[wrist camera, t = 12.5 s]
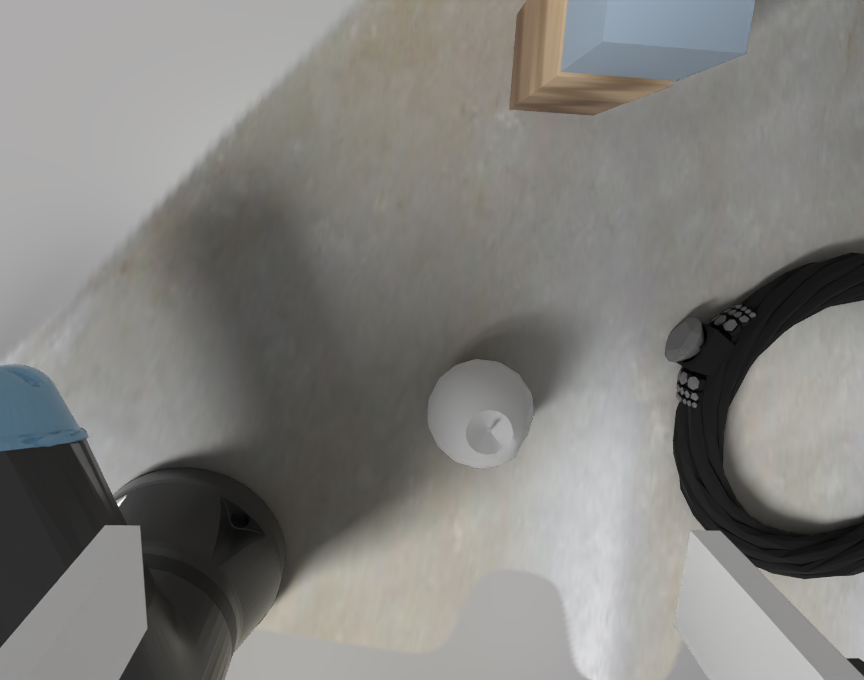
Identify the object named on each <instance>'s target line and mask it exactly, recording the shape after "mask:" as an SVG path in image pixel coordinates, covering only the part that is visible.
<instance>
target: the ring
mask: <svg viewBox="0 0 864 680" xmlns="http://www.w3.org/2000/svg"><path fill="white" fill-rule="evenodd" d="M862 300H864V254H860V253H849V254H846V255H842V256H839V257H835V258H832V259H829V260H825V261H822V262H817V263H810V264H807V265H805V266H802V267H800V268H797V269H795V270H792V271H789V272H787V273H785V274H784V275H782V276H780V277H779V278H777V279H775V280H774V281H772V282H770V283H769V284H767V285H765V286H764V287H762V288H760V289H759V290H758V291H756V292H755V293H754V294H753V295H751V296H750V297H749V298H748V299H746V300H745V301H744V302H743V303H741V304H740V305H734V306H731V307H730V309H726V310H725V311H723V312H721V313H720V314H721V316H720V314H719V315H717V316H716V317H714V318H713V319H712V320H711V322H710V324H712V325H711V326H712V327H714V328H715V329H714V328H712V327H710V326H707V325H705V324H703V323H701V321H700V320H699V319H698V318H697V317H688V318H686V319H685V320H683V321H682V322H680V323H679V324H678V325H677V326H676V327H675V328H674V329H673V330H672V331H671V333H670V335H669V337H668V340H667V343H666V348H665V356H666V358H667V359H668V360H669V361H672V362H677V363H679V364H680V365H682V366H684V367H685V368H687V369H689V370H690V371H691V372H690V371H688V370H686V369H684V370H682V369H681V370H680V371H679V374H678V380H680V382H678V380H677V395H676V397H677V398H678V400H679V401H680V402H679V405H678V407H677V410H676V417H675V427H674V437H673V454H674V458H675V462H676V466H677V470H678V473H679V478H680V488H681V491H682V493H683V495H684V497H685V499H686V501H687V503H688V505H689V507H690V509H691V511H692V513H693V515H694V517H695V518H696V519H697V520H698V521H699V522H700V524H701V525H702V526H703V527H704V528H705V530H706V531H721V532H722V533H723V534H724V535H725V536H726V537H727V538H728V539H729V540H730V541H731V542H732V543H733V544H734V545H735V546H736V547H737V548H738V549H739V550H740V551H741V552H742V553H743V554H744V555H745V556H746V557H747V558H748V559H749V560H750V562H751V563H752V564H753V565H754V566H756V567H758V568H761V569H764V570H766V571H768V572H770V573H773V574H779V575H784V576H790V577H796V578H802V579H810V578H821V577H832V576H850V575H855V574H859V573H862V572H864V523H862V524H860V525H855V526H851V527H848V528H844V529H841V530H837V531H834V532H831V533H825V534H818V535H803V534H796V533H788V532H785V531H782V530H779V529H775V528H772V527H769V526H766V525H763V524H762V523H760V522H759V521H757V520H756V519H754V518H753V517H751V516H750V515H749V514H748V513H747V512H746V511H745V510H744V508H743V507H742V506H741V504H740V503H739V502H738V500H737V499H736V497H735V495H734V493H733V491H732V489H731V486H730V484H729V482H728V480H727V478H726V476H725V474H724V470H723V444H724V429H725V424H726V419H727V413H728V408H729V406H730V404H731V402H732V400H733V398H734V396H735V394H736V393H737V391H738V389H739V387H740V385H741V383H742V381H743V379H744V377H745V376H746V374H747V372H748V370H749V368H750V367H751V365H752V364H753V363H754V361H755V360H756V359H757V357H758V356H759V355H760V354H761V353H763V352H764V351H765V350H766V349H767V348H768V347H769V346H770V345H771V344H772V343H773V342H774V341H775V340H776V339H777V338H779V337H780V336H781V335H782V334H783V333H784V332H785V331H787V330H788V329H789V328H791V327H792V326H793V325H795V324H797V323H799V322H801V321H802V320H804V319H806V318H808V317H810V316H812V315H814V314H816V313H818V312H819V311H821V310H823V309H825V308H827V307H830V306H835V305H840V304H846V303H851V302H856V301H862Z"/></svg>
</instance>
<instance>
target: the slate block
mask: <svg viewBox="0 0 864 680" xmlns="http://www.w3.org/2000/svg"><path fill="white" fill-rule="evenodd" d="M754 5H755V0H568V2H567V12H566V21H565V31H564V41H563V51H562V61H561V71H560V72H568V73H581V74H593V75H606V76H619V77H631V78H644V79H657V80H669V81H678V80H680V79H683V78H685V77H688V76H691V75H693V74H696V73H698V72H701V71H703V70H706V69H708V68H711V67H713V66H716V65H718V64H721V63H724V62H726V61H729V60H731V59H734V58H736V57H739V56H741V55H744V54H746V52H747V47H748V41H749V35H750V29H751V23H752V17H753V11H754Z"/></svg>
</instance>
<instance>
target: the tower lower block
mask: <svg viewBox="0 0 864 680" xmlns="http://www.w3.org/2000/svg"><path fill="white" fill-rule="evenodd" d="M537 3H538V0H527V1H526V3H525V4H524V5H523V7H522V8H521V10H520V11H519V12H518V14H517V22H516V34H515V47H514V59H513V71H512V84H511V96H510V108H509V109H510V110H524V111H539V112H553V113H567V114H582V115H596V114H598V113H601V112H603V111H606V110H609V109H611V108H614V107H616V106H619V105H622V104H624V103H621V102H607V101H594V100H580V99H567V98H553V97H540V96H529V92H530V80H531V69H532V58H533V47H534V36H535V25H536V14H537Z"/></svg>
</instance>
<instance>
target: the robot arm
mask: <svg viewBox="0 0 864 680" xmlns="http://www.w3.org/2000/svg"><path fill="white" fill-rule="evenodd" d="M86 438H88V434H87V432H86V431H85V429H83V428H80V427H79V426H78V424H77V422H76V421H75V419H74V417H73V416H72V414H71V412H70V411H69V409H68V407H67V405H66V404H65V402H64V400H63V399H62V397H61V395H60V393H59V391H58V390H57V388H56V386H55V384H54V383H53V382H52V380H51V379H50V378H49V377H48V376H47V375H45V374H44V373H43V372H41V371H39V370H37V369H35V368H32V367H29V366H25V365H1V366H0V680H225V677H226V674H227V671H228V667H229V665H230V661H231V658H232V656H233V653H234V652H235V651H236V649H237V648H238V647H239V646H240V645H241V644H242V643H243V642H244V640H245V639H246V638H247V637H248V635H249V634H250V633H251V632H252V631H253V630H254V628H255V627H256V626H257V625H258V624H259V623H260V622H261V621H262V620H263V618H264V617H265V616H266V614H267V613H268V611H269V610H270V608H271V606H272V604H273V602H274V600H275V598H276V595H277V593H278V589H279V586H280V583H281V579H282V575H283V571H284V566H285V545H284V539H283V535H282V532H281V529H280V527H279V524H278V522H277V520H276V518H275V517H274V515H273V514H272V512H271V511H270V509H269V508H268V507H267V505H266V504H265V503H264V502H263V501H262V500H261V499H260V498H259V497H258V496H257V495H256V494H255V493H254V492H252V491H251V490H250V489H248V488H247V487H245V486H244V485H242V484H241V483H239V482H237V481H235V480H233V479H231V478H229V477H227V476H224V475H221V474H218V473H215V472H211V471H207V470H202V469H194V468H172V469H165V470H160V471H155V472H152V473H149V474H146V475H143V476H141V477H139V478H137V479H135V480H133V481H131V482H129V483H128V484H126V485H125V486H123V487H122V488H121V489H119V490H118V491H117V492H116V493H115V494H114V495H112V493H111V491H110V489H109V487H108V484H107V482H106V480H105V478H104V476H103V474H102V472H101V470H100V468H99V465H98V463H97V461H96V459H95V457H94V455H93V453H92V451H91V449H90V446H89V444H88V442H87V440H86ZM674 627H675V629H676V630H677V632H678V633H679V635H680V636H681V638H682V639H683V641H684V642H685V644H686V645H687V647H688V648H689V650H690V651H691V653H692V654H693V656H694V657H695V659H696V660H697V662H698V663H699V665H700V666H701V668H702V669H703V671H704V672H705V674H706V675H707V677H708V679H709V680H864V662H863V661H862V660H860V659H859V658H850V659H846V658H845V657H844V656H843V655H842V654H841V653H840V652H839V651H838V650H837V649H836V648H835V647H834V646H833V645H832V644H831V643H830V642H829V641H828V640H827V639H826V638H825V637H824V636H823V635H822V634H821V633H820V632H819V631H818V630H817V629H816V628H815V627H814V626H813V625H812V623H811V622H810V621H809V620H808V619H807V618H806V617H805V616H804V615H803V614H802V613H801V612H800V611H799V610H798V609H797V608H796V607H795V606H794V605H793V604H792V603H791V602H790V601H789V600H788V599H787V598H786V597H785V596H784V595H783V594H782V593H781V592H780V591H779V590H778V589H777V588H776V587H775V586H774V585H773V584H772V583H771V582H770V581H769V580H768V579H767V578H766V577H765V576H764V575H763V574H762V573H761V572H760V571H759V570H758V569H757V568H756V567H755V566H754V565H753V564H752V563H751V562H750V560H749V559H748V558H747V557H746V556H745V555H744V554H743V553H742V552H741V551H740V550H739V549H738V548H737V547H736V546H735V545H734V544H733V543H732V542H731V541H730V540H729V539H728V538H727V537H726V536H725V535H724V534H723V533H722V532H721V531H693V530H691V531H690V537H689V542H688V548H687V554H686V559H685V565H684V571H683V576H682V582H681V587H680V593H679V599H678V604H677V610H676V616H675V621H674Z"/></svg>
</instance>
